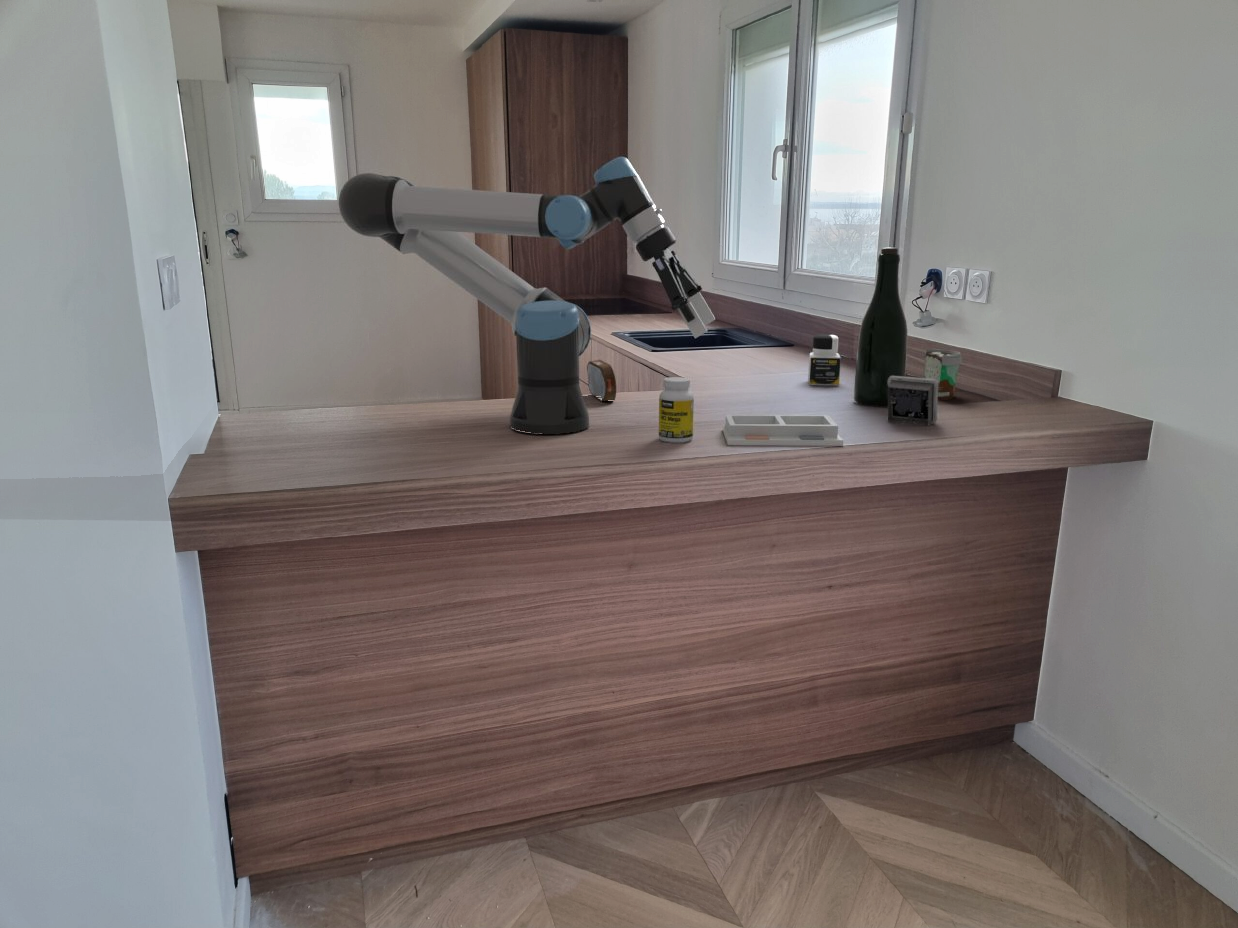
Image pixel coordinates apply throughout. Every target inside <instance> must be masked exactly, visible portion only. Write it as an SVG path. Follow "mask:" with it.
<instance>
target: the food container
mask: <svg viewBox="0 0 1238 928" xmlns="http://www.w3.org/2000/svg"><path fill="white" fill-rule="evenodd" d="M923 358H924V370H923V378H927V379H936V380H937V382H938V399H937V401H941V400H942V401H943V400H950V399H953V398H954V395H955V388H956V381H957V377H958V373H959V372H958V371H959V366H960V365H962V364H963V357H962V355H961V352H960V351H956V350H955V351H954V350H951V349H950V350H948V349H936V348H925V352H924V357H923Z"/></svg>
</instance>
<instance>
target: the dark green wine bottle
mask: <svg viewBox="0 0 1238 928" xmlns="http://www.w3.org/2000/svg"><path fill="white" fill-rule="evenodd" d="M900 262H901V256H900V253H899V248H897V247H882V248H881V250H880V254H878V258H877V273H876V283H875V288H874V292H873V294H872V298H871V300H870V303H869V305H868V307H867V309H866V312H865V314H864V316H863V318H862V321H861V324H860V328H859V334H858V335H859V336H858V341H857V342H858V343H857V352H856V363H855V375H854V387H853V400H854V402H855V403H857V404H860V405H863V406H870V407H888V378H889V377H890V376H902V377H906V374H907V373H906V372H907V369H906V368H907V358H908V357H907V355H908V323H907V318H906V315H905V312H904V309H903V304H902V302H901V299H900V292H899V290H900V289H899V288H900V287H899V271H900V269H899V268H900Z"/></svg>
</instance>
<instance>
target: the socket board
mask: <svg viewBox="0 0 1238 928" xmlns="http://www.w3.org/2000/svg"><path fill="white" fill-rule="evenodd" d="M722 433H723V435H724V438H725V441H726V443H727V446H789V447H791V446H793V447H795V446H796V447H797V446H799V447H800V446H803V447H805V446H806V447H808V446H811V447H812V446H813V447H814V446H815V447H817V446H818V447H819V446H820V447H823V446H824V447H827V446H828V447H833V446H834V447H843V446H844V439H843V438H842V437H841V436H840V435H839V434H838V433H839V425H838V424H837V423H836V422H835V421H834V420H833V419H832V418H831V417H830V415H828V414H725V424H722Z"/></svg>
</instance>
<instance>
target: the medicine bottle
mask: <svg viewBox="0 0 1238 928" xmlns="http://www.w3.org/2000/svg"><path fill="white" fill-rule="evenodd" d="M812 338H813V340H812V352H810V353H809V355H808V360H809V361H808V374H807V375H808V376H807V380H808V384H809V386H830V387H831V386H832V387H833V386H835V387H836V386H840V376H841V375H840V373H841V363H842V362H841V360H842V357H841V355H840V354H839V353H838V352H839V351H838V350H839V341H840V340H839V337H838V335H836V334H828V333H821V334H817V335H816V334H815V335H814V336H813V337H812Z"/></svg>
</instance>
